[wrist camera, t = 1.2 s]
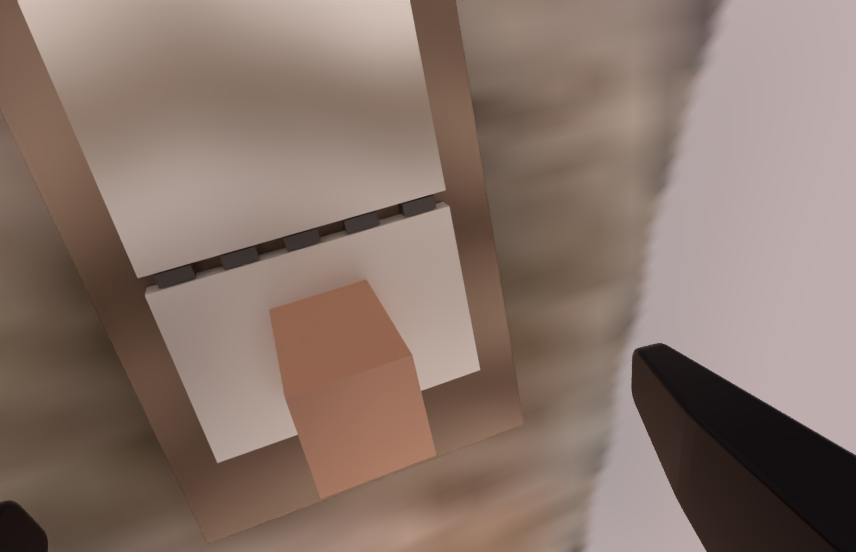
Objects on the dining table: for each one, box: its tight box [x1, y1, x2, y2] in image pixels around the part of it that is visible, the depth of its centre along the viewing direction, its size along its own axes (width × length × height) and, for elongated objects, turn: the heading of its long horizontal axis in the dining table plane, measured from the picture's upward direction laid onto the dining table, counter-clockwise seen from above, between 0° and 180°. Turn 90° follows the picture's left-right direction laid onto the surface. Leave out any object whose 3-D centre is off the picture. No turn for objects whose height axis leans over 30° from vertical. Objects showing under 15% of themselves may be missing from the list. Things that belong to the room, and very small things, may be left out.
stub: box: [145, 202, 480, 499], centre depth 17 cm, size 6×9×6 cm, turn 101°
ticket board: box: [0, 0, 524, 544], centre depth 19 cm, size 18×12×2 cm, turn 11°
